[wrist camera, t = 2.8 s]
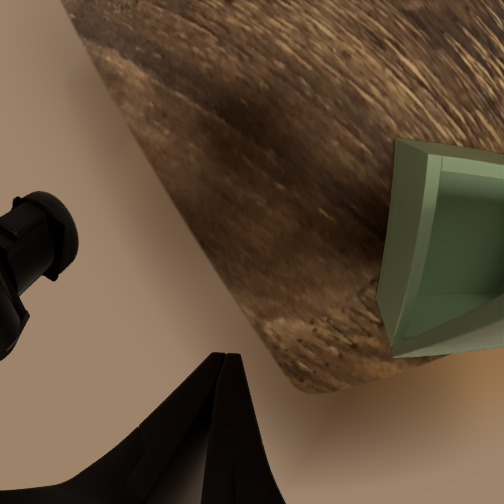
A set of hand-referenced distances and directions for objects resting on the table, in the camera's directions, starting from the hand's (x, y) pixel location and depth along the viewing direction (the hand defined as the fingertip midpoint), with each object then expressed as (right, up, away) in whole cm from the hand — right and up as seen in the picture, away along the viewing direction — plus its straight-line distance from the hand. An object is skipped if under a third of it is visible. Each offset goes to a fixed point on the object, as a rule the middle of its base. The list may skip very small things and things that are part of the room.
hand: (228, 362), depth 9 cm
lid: (+14, 0, +2) cm, 14 cm away
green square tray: (+15, +5, +10) cm, 19 cm away
